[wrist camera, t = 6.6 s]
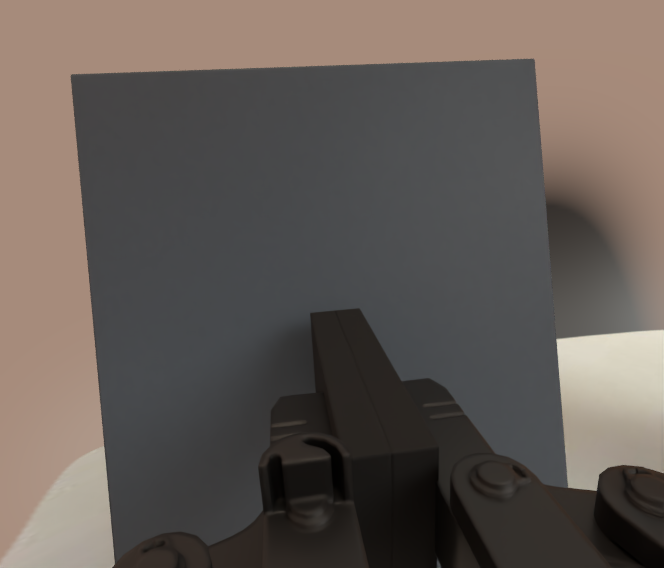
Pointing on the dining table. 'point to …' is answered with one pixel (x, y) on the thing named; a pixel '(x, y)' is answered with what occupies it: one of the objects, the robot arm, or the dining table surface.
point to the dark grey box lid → (306, 263)
